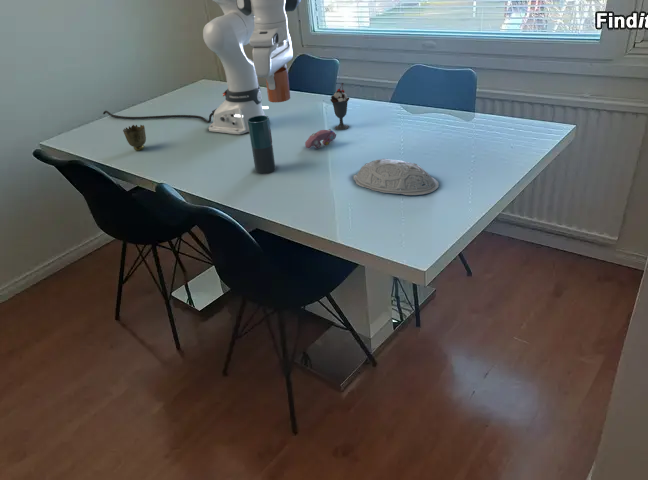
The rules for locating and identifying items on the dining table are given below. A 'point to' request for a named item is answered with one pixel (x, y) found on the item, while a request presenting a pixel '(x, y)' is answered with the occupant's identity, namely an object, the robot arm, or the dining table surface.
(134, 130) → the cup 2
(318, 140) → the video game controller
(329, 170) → the dining table surface
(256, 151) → the cup stack
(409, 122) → the dining table surface
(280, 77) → the cup
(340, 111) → the sundae
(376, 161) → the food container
